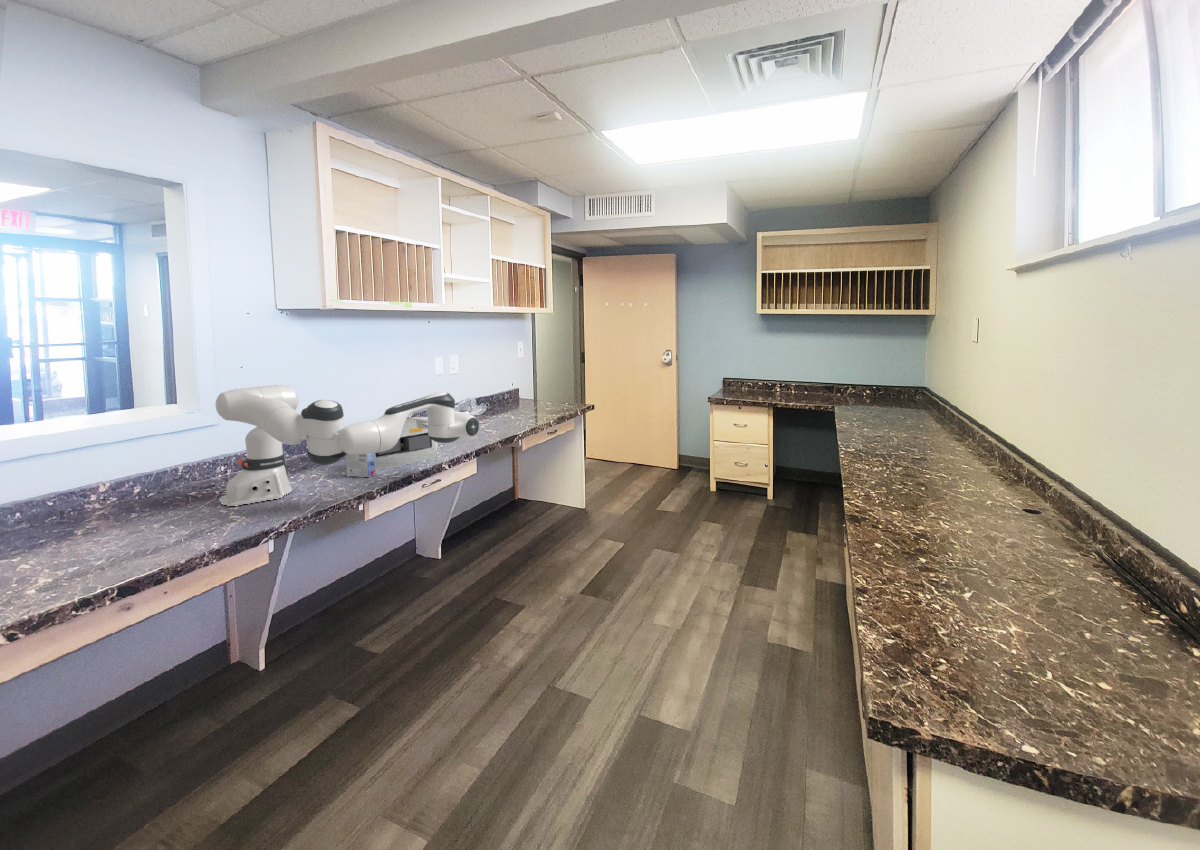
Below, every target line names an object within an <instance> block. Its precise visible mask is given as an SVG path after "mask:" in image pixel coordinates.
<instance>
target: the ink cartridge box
mask: <svg viewBox="0 0 1200 850" xmlns="http://www.w3.org/2000/svg"><path fill="white" fill-rule="evenodd" d="M345 464H346V465H345V466H346V477H347V476H359V477H358V478H363V477H369V476H371V477H373V476H372V475H374V474H376V475H377V472H376V469H375V457H374V453H371V454H346V456H345ZM374 476H375V475H374ZM369 478H370V477H369Z"/></svg>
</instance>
